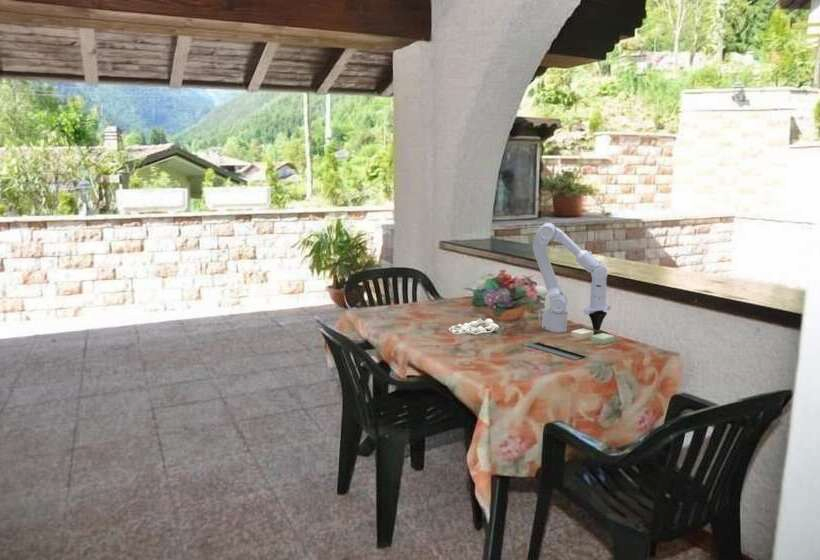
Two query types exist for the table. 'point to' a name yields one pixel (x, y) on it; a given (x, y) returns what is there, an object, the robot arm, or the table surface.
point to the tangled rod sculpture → (467, 326)
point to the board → (588, 341)
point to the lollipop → (541, 293)
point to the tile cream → (582, 333)
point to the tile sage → (602, 338)
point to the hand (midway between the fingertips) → (596, 329)
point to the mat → (556, 351)
